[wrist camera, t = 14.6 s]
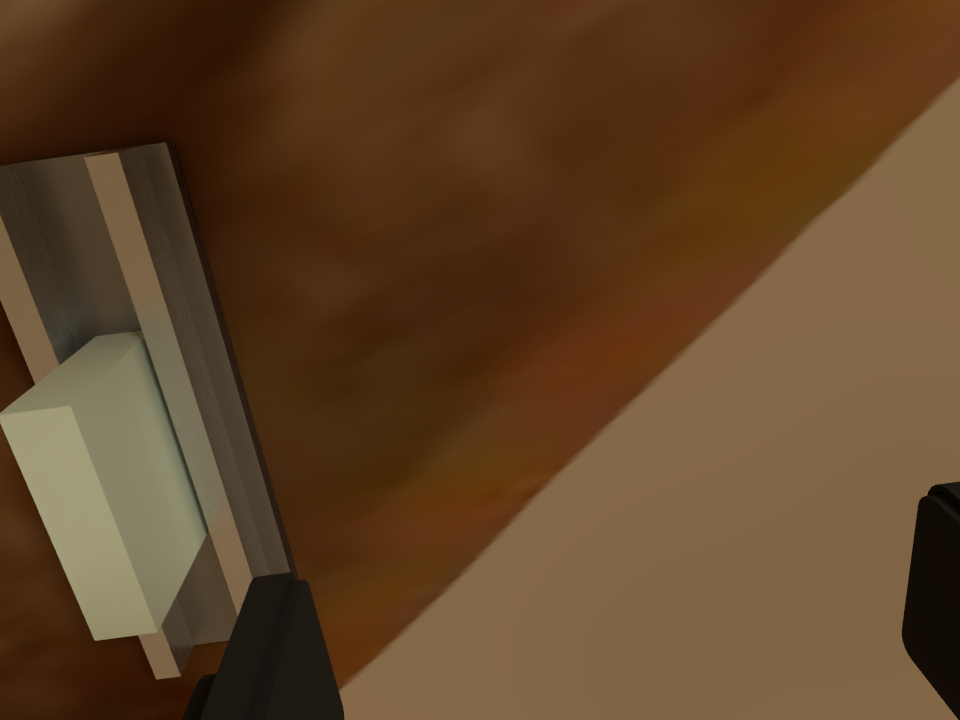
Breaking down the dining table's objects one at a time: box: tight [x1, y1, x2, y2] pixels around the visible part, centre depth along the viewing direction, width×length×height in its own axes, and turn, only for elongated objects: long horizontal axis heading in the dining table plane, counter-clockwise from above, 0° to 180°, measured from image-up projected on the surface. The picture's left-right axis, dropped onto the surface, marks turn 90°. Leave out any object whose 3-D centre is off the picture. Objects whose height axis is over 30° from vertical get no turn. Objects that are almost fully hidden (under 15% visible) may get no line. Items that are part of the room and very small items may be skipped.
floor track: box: [0, 140, 299, 680], centre depth 39 cm, size 30×10×4 cm, turn 7°
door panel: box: [0, 330, 209, 641], centre depth 36 cm, size 12×3×9 cm, turn 7°
